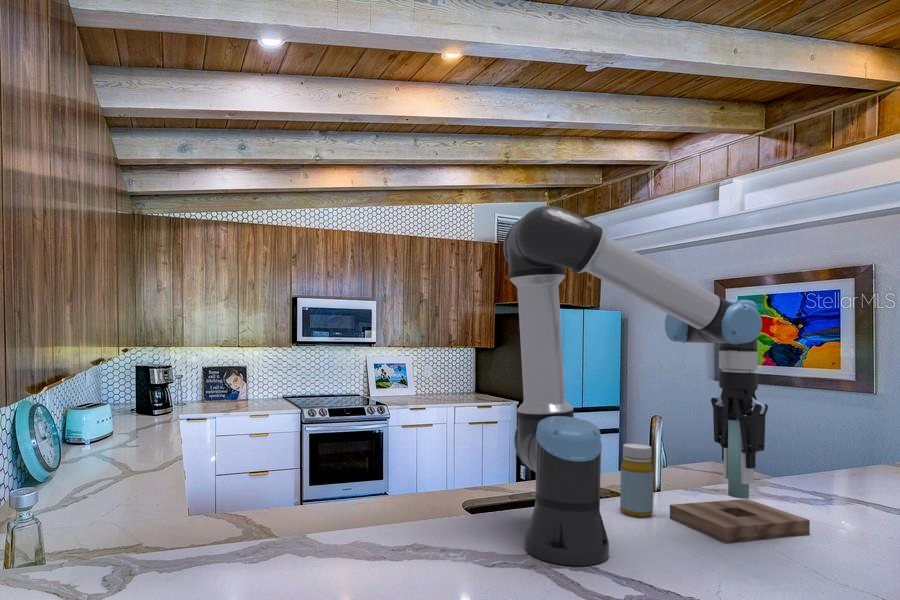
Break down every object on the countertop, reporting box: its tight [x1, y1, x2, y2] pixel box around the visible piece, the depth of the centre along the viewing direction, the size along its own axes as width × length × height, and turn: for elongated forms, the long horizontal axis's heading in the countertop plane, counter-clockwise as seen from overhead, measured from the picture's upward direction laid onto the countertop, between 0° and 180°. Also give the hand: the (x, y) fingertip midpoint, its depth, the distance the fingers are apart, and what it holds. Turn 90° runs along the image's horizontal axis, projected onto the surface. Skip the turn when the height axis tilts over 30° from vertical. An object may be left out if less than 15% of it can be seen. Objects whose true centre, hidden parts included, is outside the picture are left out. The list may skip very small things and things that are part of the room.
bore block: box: [669, 498, 811, 544], centre depth 126 cm, size 22×16×3 cm
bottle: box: [619, 443, 654, 518], centre depth 133 cm, size 7×7×15 cm
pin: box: [727, 419, 750, 499], centre depth 126 cm, size 4×4×16 cm
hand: (738, 480), depth 126 cm, fingers closed on pin, 4 cm apart
